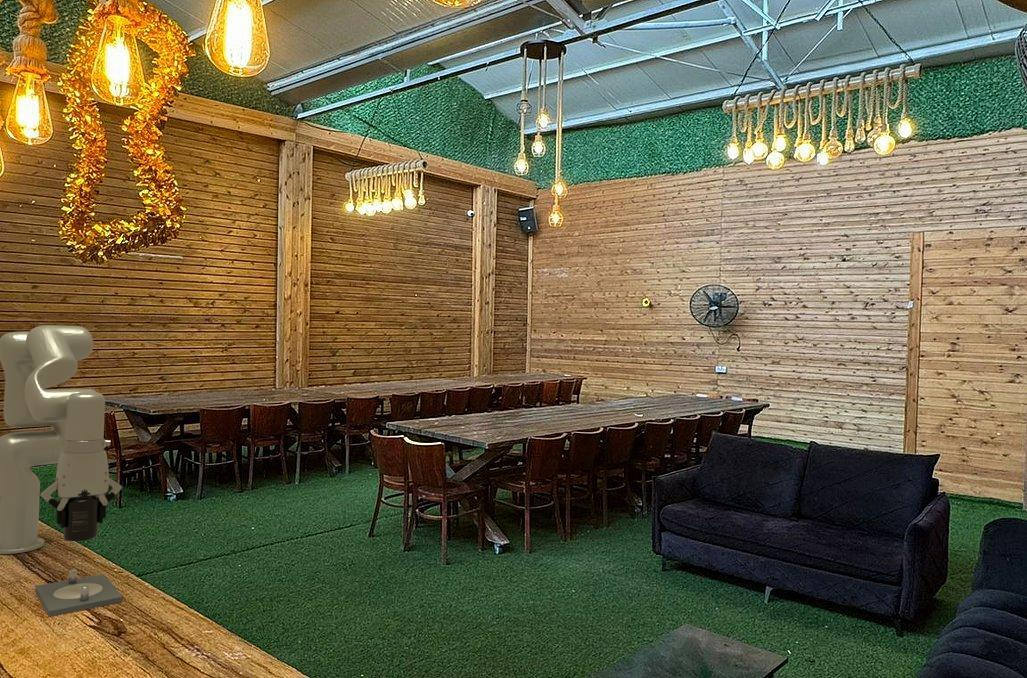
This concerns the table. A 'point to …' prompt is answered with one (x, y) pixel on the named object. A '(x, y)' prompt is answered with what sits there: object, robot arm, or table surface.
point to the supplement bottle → (81, 517)
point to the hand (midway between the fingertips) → (81, 523)
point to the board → (77, 594)
